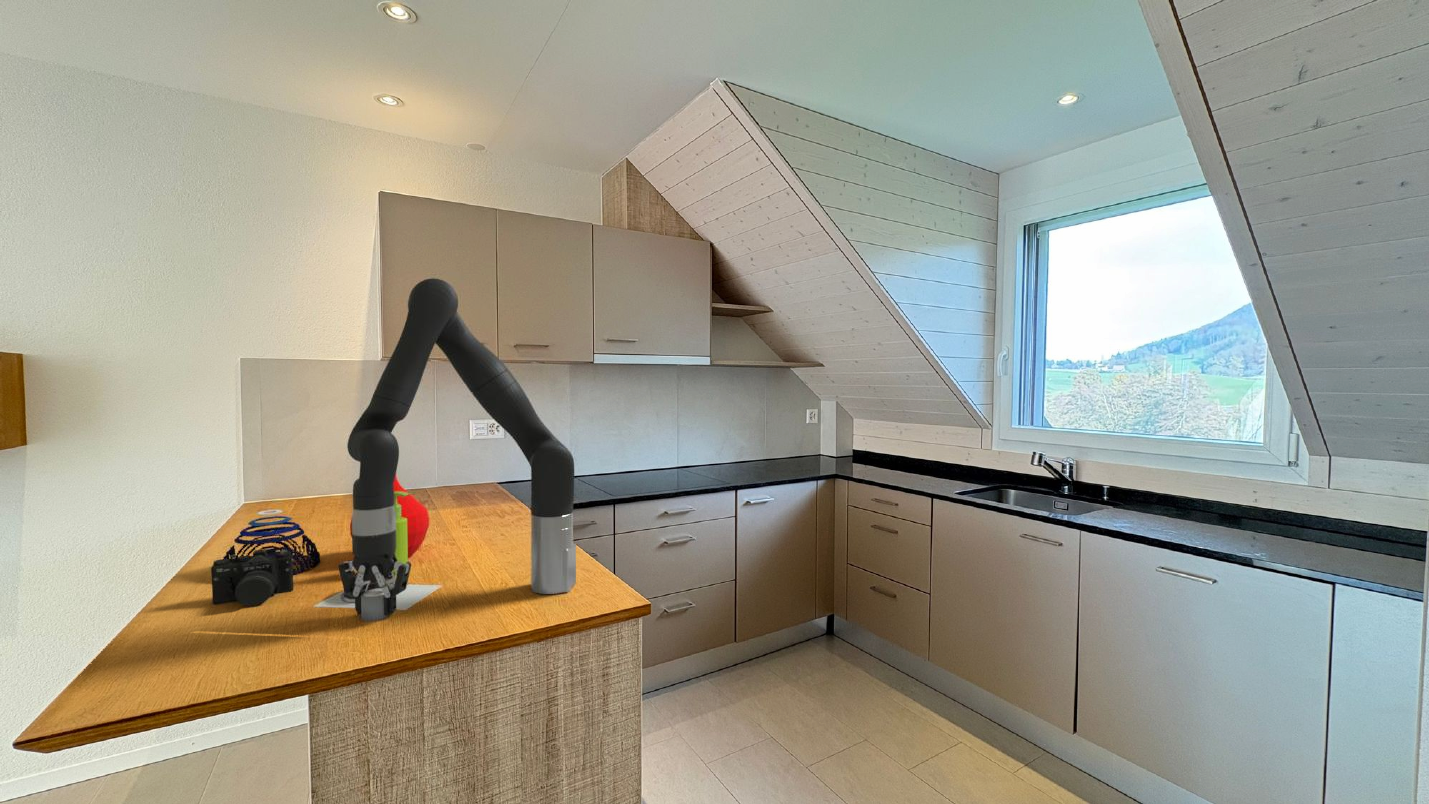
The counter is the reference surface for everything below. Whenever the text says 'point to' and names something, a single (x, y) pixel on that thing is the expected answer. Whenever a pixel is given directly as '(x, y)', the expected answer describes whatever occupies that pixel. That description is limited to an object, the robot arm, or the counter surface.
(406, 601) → the mat
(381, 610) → the cap
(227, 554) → the decorative bowl
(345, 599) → the black faceted bowl
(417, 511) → the vase
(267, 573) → the camera
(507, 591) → the counter surface
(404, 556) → the soap dispenser
